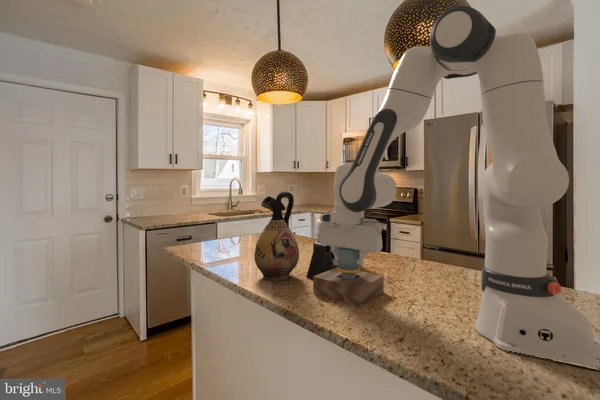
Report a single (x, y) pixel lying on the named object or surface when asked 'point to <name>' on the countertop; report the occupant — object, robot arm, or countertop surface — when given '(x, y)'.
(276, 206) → the ceramic jug
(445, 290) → the countertop surface
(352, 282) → the board
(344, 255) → the leg
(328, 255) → the phone stand
